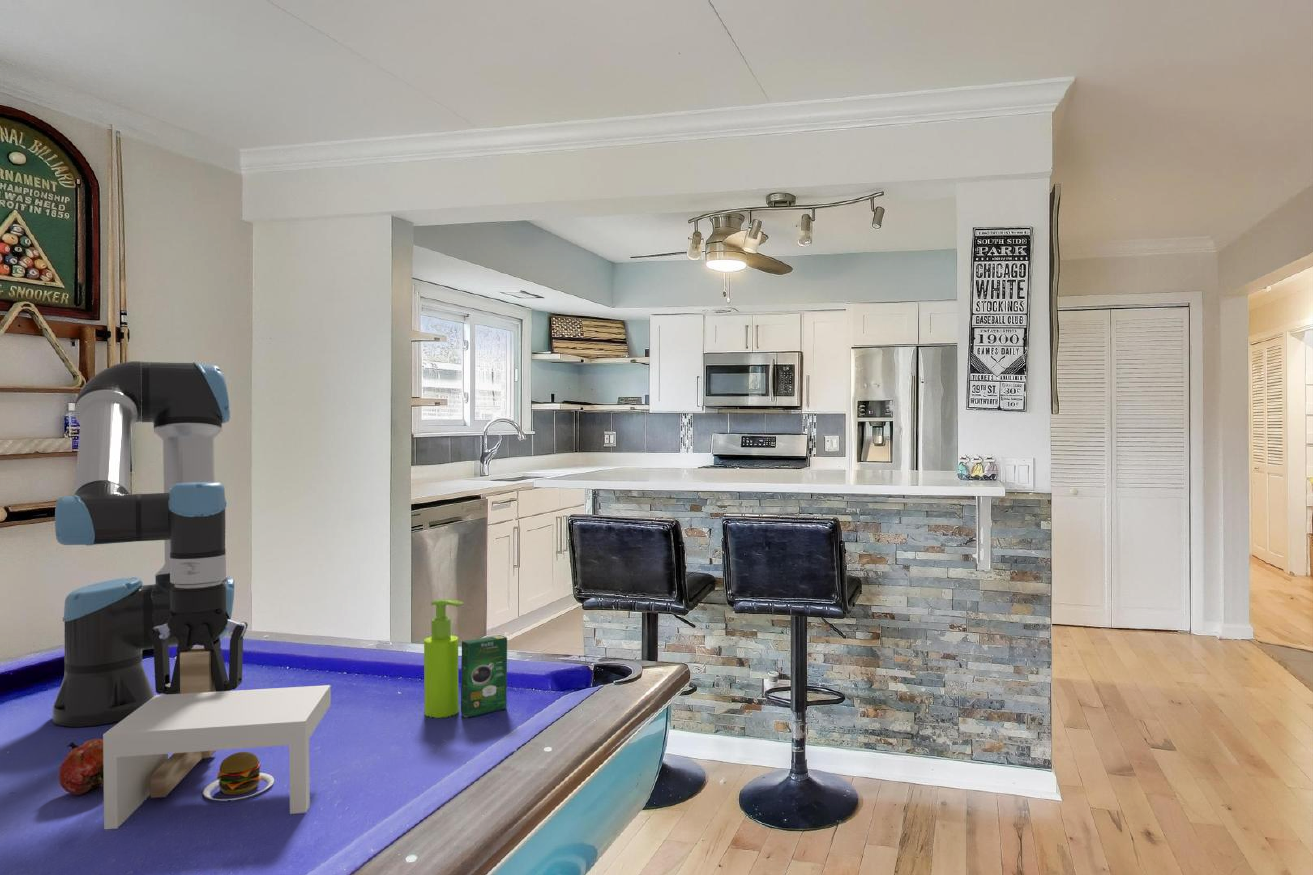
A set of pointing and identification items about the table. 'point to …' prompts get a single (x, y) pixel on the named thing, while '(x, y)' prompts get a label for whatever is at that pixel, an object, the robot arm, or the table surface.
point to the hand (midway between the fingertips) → (199, 736)
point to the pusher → (191, 681)
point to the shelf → (209, 738)
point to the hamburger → (238, 776)
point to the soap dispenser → (441, 665)
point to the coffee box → (483, 675)
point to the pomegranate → (83, 767)
